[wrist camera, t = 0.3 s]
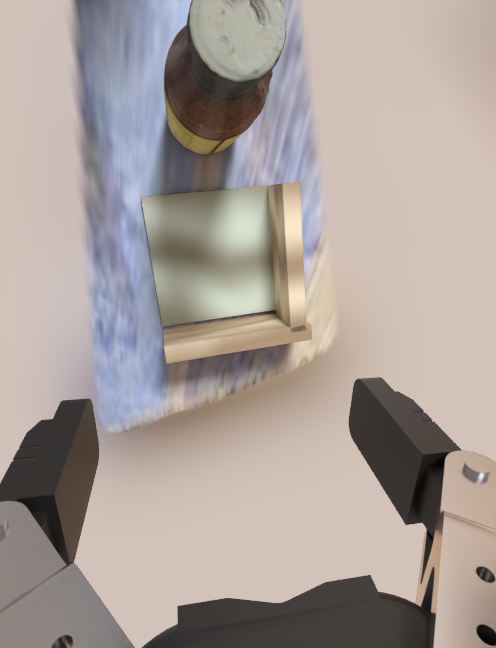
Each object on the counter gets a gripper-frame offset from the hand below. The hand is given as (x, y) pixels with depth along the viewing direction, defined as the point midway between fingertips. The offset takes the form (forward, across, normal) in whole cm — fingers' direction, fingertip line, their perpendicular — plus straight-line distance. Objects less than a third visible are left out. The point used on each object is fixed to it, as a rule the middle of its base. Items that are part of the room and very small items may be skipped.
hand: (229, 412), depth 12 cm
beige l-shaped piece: (+27, -3, +3) cm, 28 cm away
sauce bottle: (+29, -1, -10) cm, 31 cm away
